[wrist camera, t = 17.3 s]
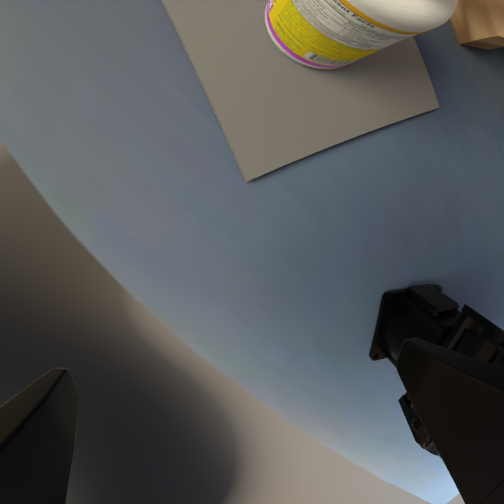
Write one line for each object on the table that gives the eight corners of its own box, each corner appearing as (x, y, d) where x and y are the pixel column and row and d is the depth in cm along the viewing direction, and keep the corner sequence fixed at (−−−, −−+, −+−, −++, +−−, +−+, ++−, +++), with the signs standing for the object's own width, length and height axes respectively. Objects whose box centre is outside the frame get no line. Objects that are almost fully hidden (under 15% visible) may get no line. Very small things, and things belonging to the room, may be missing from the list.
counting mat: (434, 107, 19) (439, 107, 18) (245, 181, 19) (246, 182, 18) (351, -62, 13) (354, -65, 13) (148, -26, 13) (147, -30, 12)
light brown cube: (487, 49, 18) (524, 44, 13) (457, 44, 18) (498, 35, 13) (471, 5, 16) (506, -5, 12) (440, -4, 16) (476, -19, 11)
